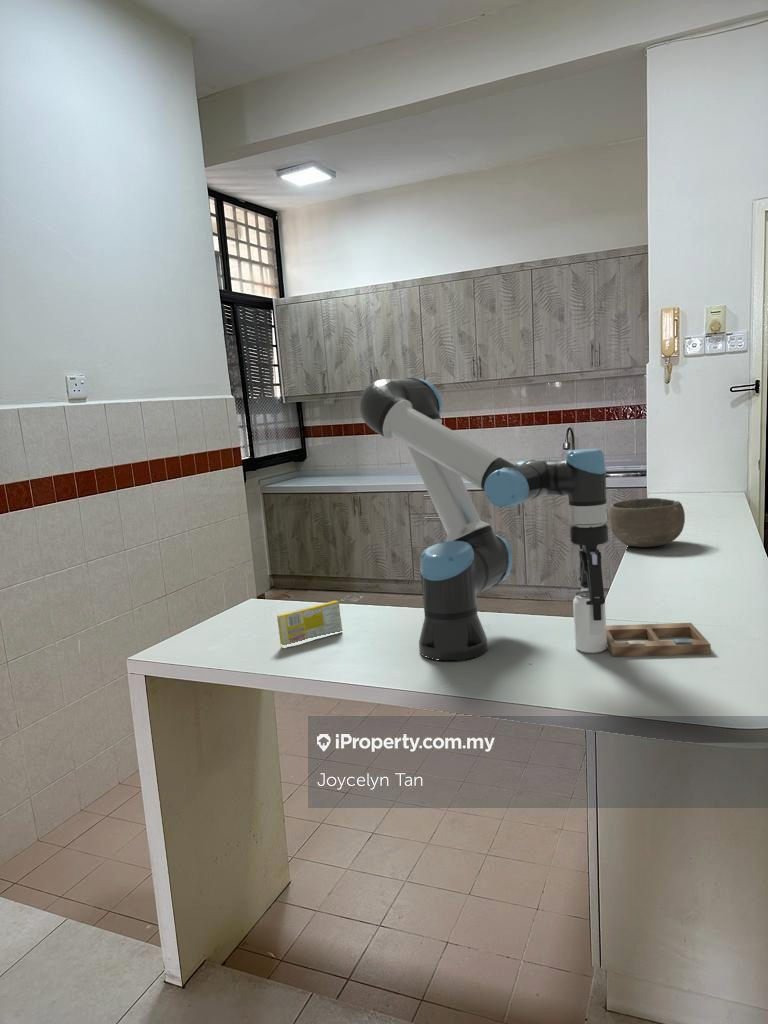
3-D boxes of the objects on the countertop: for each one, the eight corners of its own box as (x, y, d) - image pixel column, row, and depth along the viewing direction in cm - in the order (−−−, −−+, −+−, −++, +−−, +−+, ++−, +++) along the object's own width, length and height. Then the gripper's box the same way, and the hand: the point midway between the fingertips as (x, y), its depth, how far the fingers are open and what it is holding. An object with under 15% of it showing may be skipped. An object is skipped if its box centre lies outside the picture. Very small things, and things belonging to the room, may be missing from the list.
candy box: (339, 631, 176) (335, 599, 175) (343, 633, 175) (340, 601, 173) (280, 647, 168) (276, 614, 167) (283, 649, 166) (280, 616, 165)
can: (608, 654, 145) (606, 598, 144) (576, 654, 147) (573, 598, 145) (605, 643, 152) (603, 589, 150) (574, 643, 153) (572, 590, 151)
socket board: (612, 656, 144) (612, 645, 143) (602, 634, 157) (601, 624, 157) (710, 653, 141) (710, 642, 140) (691, 631, 154) (690, 620, 154)
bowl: (622, 537, 259) (621, 497, 257) (692, 539, 245) (691, 497, 243) (600, 550, 240) (598, 507, 238) (675, 554, 226) (673, 508, 224)
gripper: (617, 533, 133) (621, 643, 136) (598, 513, 156) (602, 608, 159) (576, 535, 134) (581, 644, 137) (564, 515, 157) (568, 609, 161)
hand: (593, 625), depth 148 cm, fingers open, 11 cm apart
